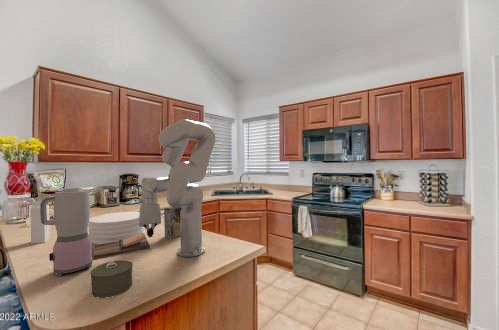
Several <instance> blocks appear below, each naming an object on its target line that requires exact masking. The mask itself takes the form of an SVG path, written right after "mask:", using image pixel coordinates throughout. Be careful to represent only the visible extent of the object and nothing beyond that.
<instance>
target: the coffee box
mask: <svg viewBox="0 0 499 330" xmlns="http://www.w3.org/2000/svg"><path fill="white" fill-rule="evenodd" d="M182 207H183V206H182ZM182 207H176V208H175V207H171V206H170V207H166V208H165V207H164V208H163V213H164V214H163V221H164V237H165V238H169V239H173V238H177V237H179V236H180V237H181V233H180V214H181V209H182Z"/></svg>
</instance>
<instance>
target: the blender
mask: <svg viewBox="0 0 499 330" xmlns="http://www.w3.org/2000/svg"><path fill="white" fill-rule="evenodd" d="M91 192H92V190H87V189H81V187H79V186H77V187H65V188H63V191H56V192H54V193H53V194H54V195H53V196H49V197H46V198H44V199H42V200H41V201H42V202H41V205H40V215H41V223H42V224H44V225H49V226H53V225H54V226H55V230H56V235H57V238H56V240H55V242H54V245H53V246H52V252H51V253H49V254H48V257H49V258H48V259H49V261H50V262H51V261H52V262H53V263H52V264H53V273H55V275H56V277H62V276H64V275H63V274H69V273H73V272H77V271H81V270H83V269H87V270H90V269H91V268H92V265H93V255H92V253H93V249H92V245H93V243H92V242H91V239H90V237H89V224H90V223H89V219H90V218H91V203H90V202H91V201H90V194H91ZM52 202H53V219H51V220H50V219H49V220H47V210H46V205H47V204H48V203H52Z"/></svg>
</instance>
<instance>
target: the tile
mask: <svg viewBox="0 0 499 330" xmlns="http://www.w3.org/2000/svg"><path fill="white" fill-rule="evenodd" d="M146 236H147V235H146V234H144V233H143V232H142V233H140V234H137V235H134V236H131V237H129V238H126V239H123V241H122V240H121V241H120V243H121V246H125V247H127V246H129V245H132V244H134V243H137V242H140V241H142V240H145V239H146V240H147V237H146ZM123 244H124V245H123Z"/></svg>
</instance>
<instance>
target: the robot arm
mask: <svg viewBox="0 0 499 330" xmlns="http://www.w3.org/2000/svg"><path fill="white" fill-rule="evenodd" d="M157 139H158V142H159V145H160V146H161V147H163V148H164V151H163V154H162V156H161V160H162V161H163V163H165V164H166V165H168V166H170V169H169V173H168V175H167V176H160V177H143V178H142V179H141V198H140V199H138V203H141V204H140V205H139V211H138V212H139V227H145V230H146V236H147V237H148V238H153V235H154V232H155V231H154V229H155V228H156V226H159V225H161V224H162V212H161V205H160V203H159V201H158V193H164V192H166V195H165V196H166V202H167V204H168V205H169V206H170V208H171V207H175V208H176V207H182V209H181V214H180V233H181V235H180V248H179V249H177V251H176V253H177V255H178V256H180V257H183V258H192V257H198V256H201V255H203V254H204V253H206V247H205V246H204V245H203V239H202V236H203V235H202V234H203V233H202V228H203V227H202V206H203V199H204V191H203V188H202V187H201V186H200V185H199V184H197V183H200V182H202V181H203V180H204V179H205V177H206V174H207V170H208V166H209V163H210V159H211V155H212V152H213V150H214V147H215V143H216V134H215V132H214V129H213V128H212V127H211V126H210V125H208V124H206V123H205V122H200V121H194V120H190V119H186V118H185V119H180V120H177V121H176V122H174V123H172V124H170V125H168V126H166V127H164V129H162V130H161V131H160V133H159V135H158V138H157ZM189 141H196V142H197V143H196V144H195V145H194V147H193V148H192V150H191V153H190V157H189V160H187V161H181V160H182V157H183V155H184V153H185V151H186V149H187V147H188V144H189ZM150 225H151V226H150Z"/></svg>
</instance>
